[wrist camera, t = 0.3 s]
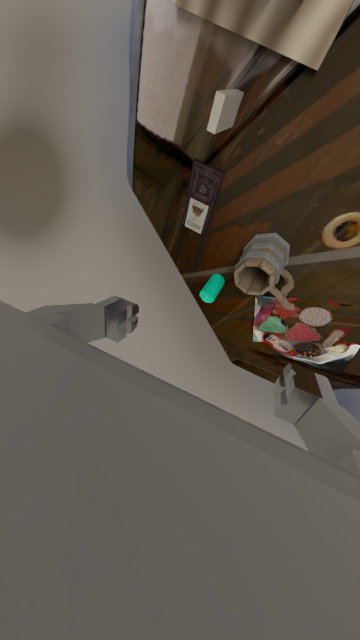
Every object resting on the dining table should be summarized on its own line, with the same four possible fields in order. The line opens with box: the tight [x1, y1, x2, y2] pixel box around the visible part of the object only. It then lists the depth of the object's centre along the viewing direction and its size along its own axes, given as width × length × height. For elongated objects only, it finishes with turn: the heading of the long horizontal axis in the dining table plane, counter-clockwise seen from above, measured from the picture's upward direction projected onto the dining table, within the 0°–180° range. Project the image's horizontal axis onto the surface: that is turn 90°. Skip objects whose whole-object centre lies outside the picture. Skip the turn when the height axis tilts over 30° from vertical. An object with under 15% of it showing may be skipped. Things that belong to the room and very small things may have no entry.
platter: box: [253, 295, 360, 373], centre depth 72 cm, size 35×35×2 cm
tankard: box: [234, 233, 295, 311], centre depth 53 cm, size 20×13×15 cm, turn 65°
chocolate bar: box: [181, 159, 225, 236], centre depth 56 cm, size 9×1×18 cm
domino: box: [207, 89, 244, 134], centre depth 36 cm, size 2×5×10 cm, turn 166°
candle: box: [200, 274, 225, 303], centre depth 70 cm, size 6×6×12 cm
